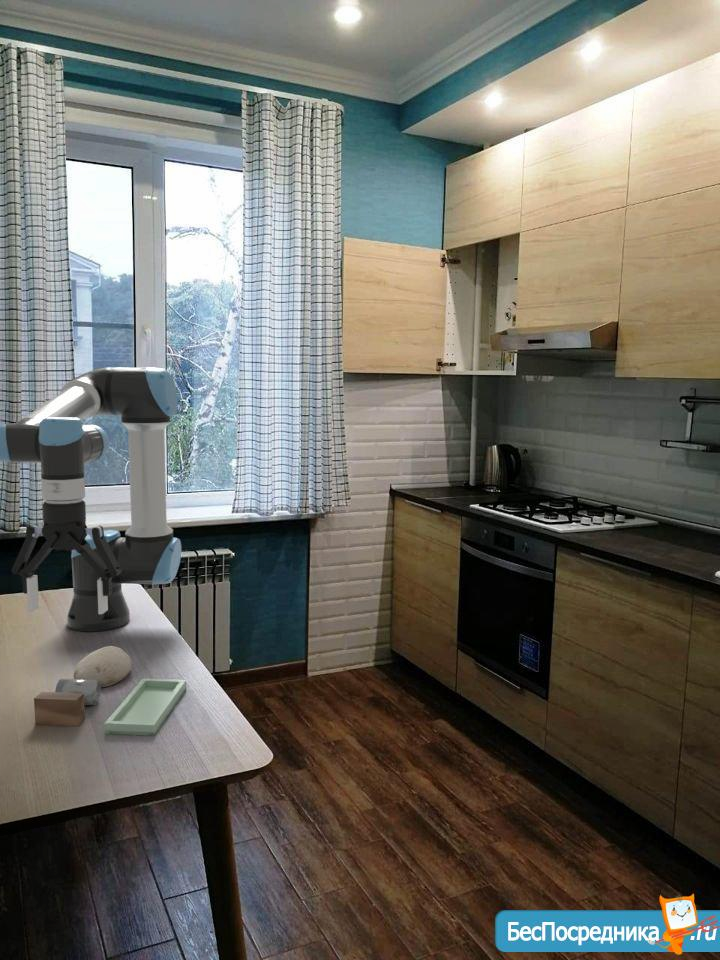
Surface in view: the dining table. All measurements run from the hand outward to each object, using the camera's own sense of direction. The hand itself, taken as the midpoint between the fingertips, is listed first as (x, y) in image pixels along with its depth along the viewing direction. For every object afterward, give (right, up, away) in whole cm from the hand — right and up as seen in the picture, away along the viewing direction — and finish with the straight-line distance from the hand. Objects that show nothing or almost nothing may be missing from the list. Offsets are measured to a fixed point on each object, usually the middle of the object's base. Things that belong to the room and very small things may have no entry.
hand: (68, 611), depth 146 cm
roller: (+1, -19, +4) cm, 19 cm away
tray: (+15, -19, +1) cm, 24 cm away
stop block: (0, -20, -4) cm, 20 cm away
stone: (+1, -17, +17) cm, 24 cm away
